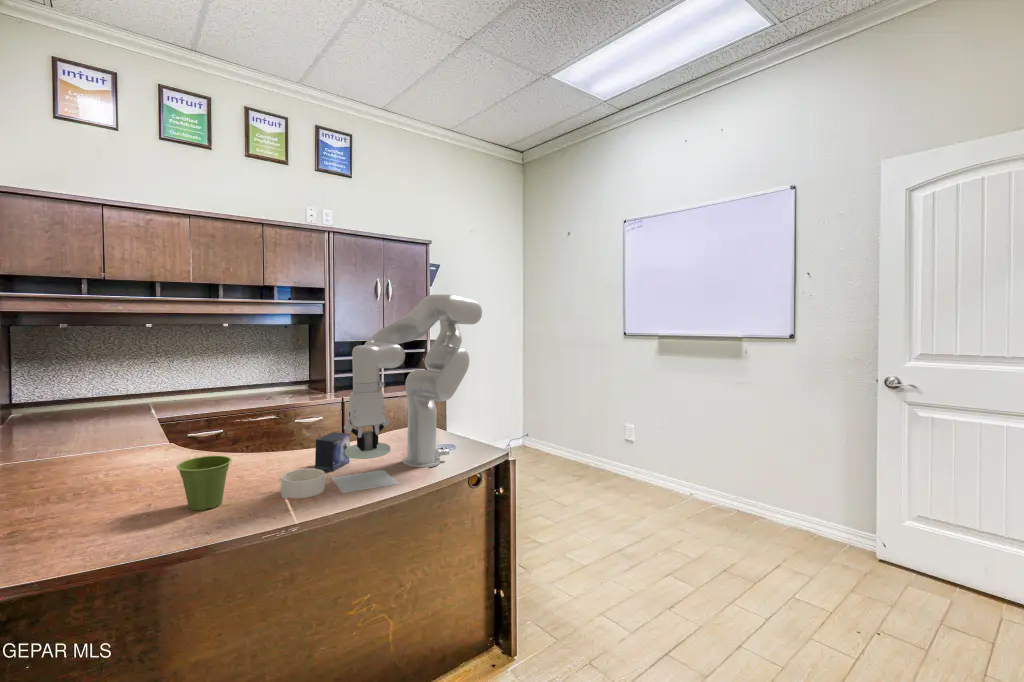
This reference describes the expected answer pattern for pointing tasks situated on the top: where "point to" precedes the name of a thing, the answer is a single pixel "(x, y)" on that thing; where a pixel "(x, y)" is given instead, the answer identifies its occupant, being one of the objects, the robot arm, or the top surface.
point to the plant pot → (204, 480)
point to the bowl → (302, 483)
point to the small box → (331, 451)
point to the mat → (363, 481)
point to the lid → (367, 448)
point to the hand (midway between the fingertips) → (367, 447)
